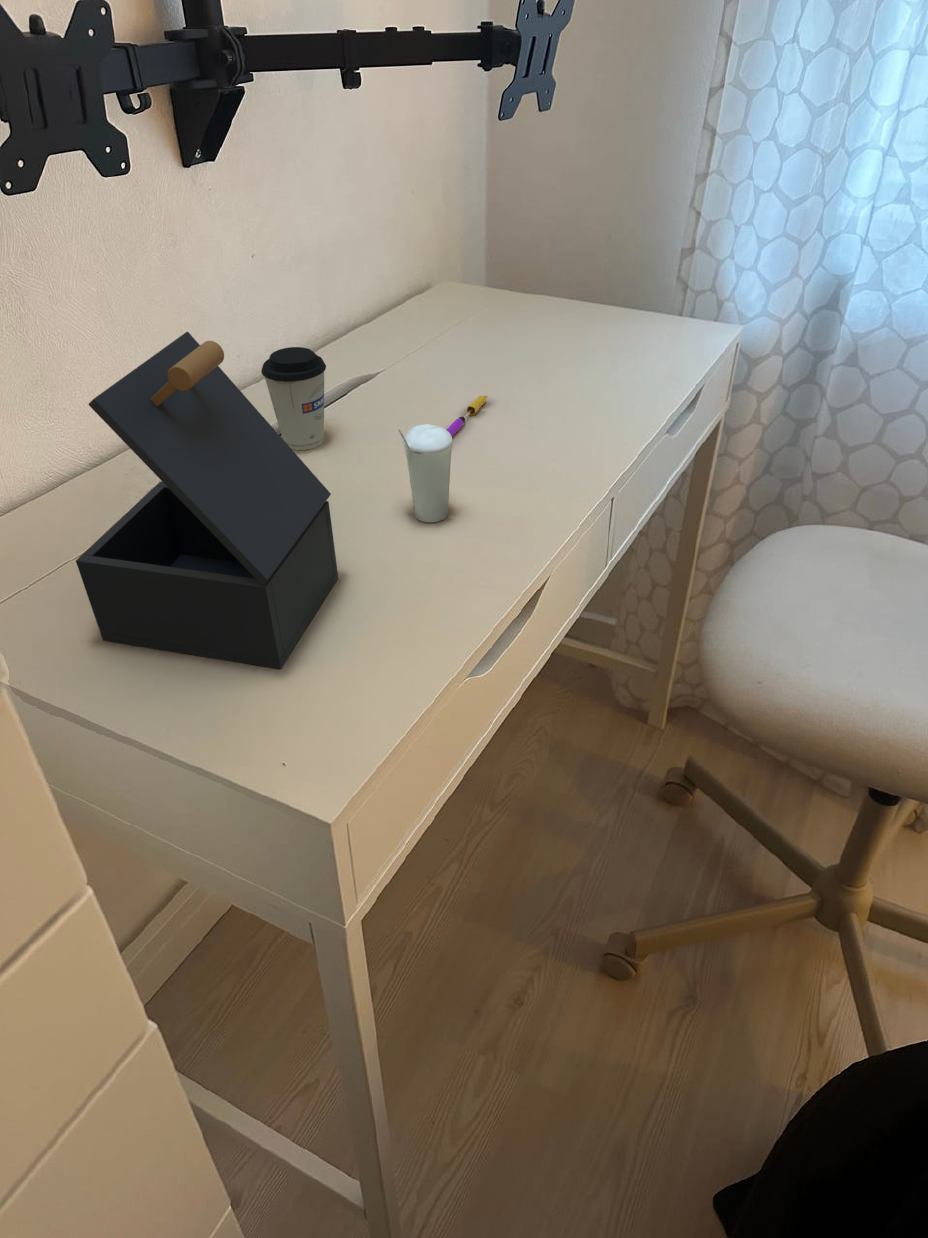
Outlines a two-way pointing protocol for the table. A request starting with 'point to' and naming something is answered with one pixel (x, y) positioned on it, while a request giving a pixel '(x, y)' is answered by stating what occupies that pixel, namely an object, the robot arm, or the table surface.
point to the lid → (214, 452)
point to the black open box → (202, 586)
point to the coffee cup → (297, 395)
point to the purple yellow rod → (470, 411)
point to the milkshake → (429, 470)
